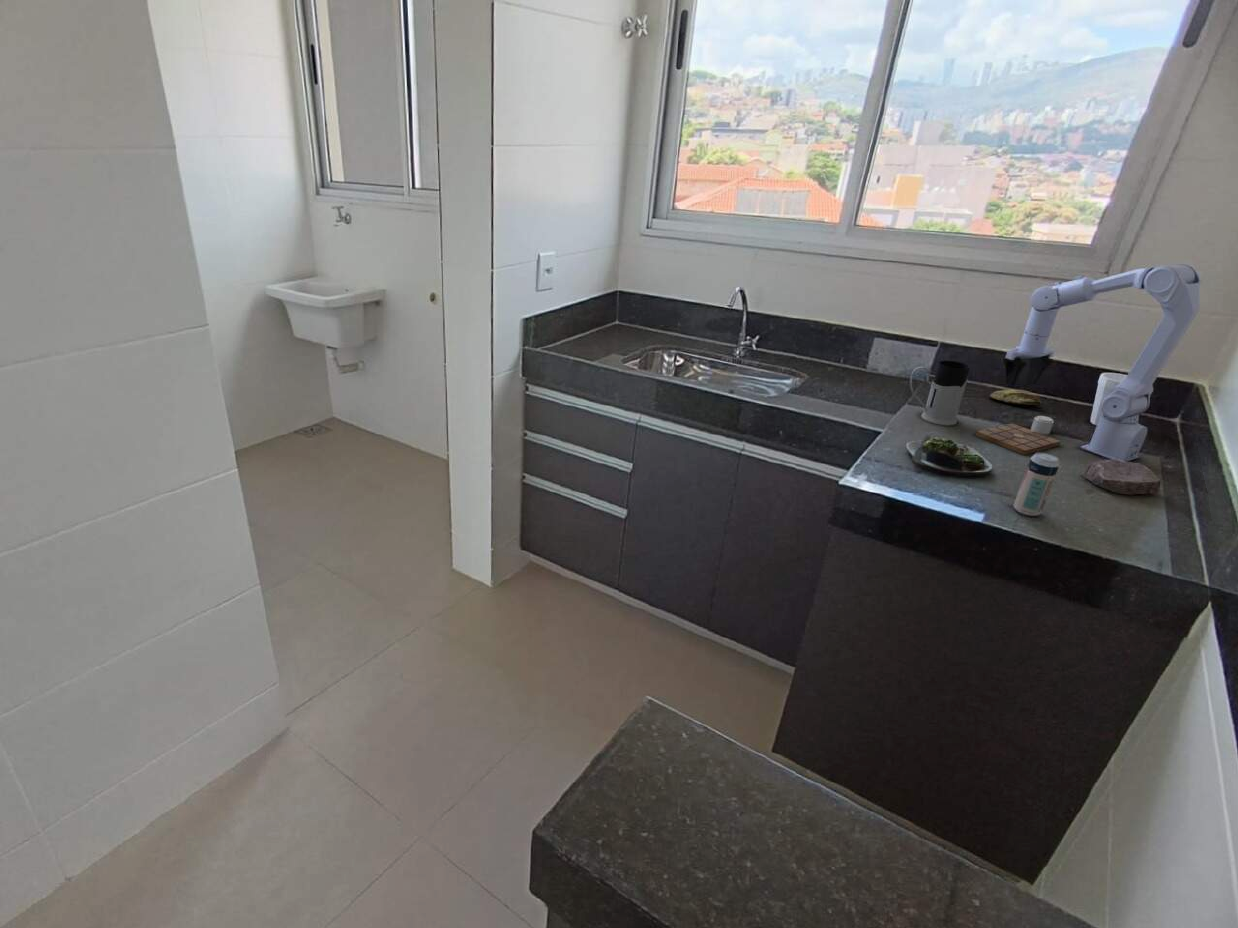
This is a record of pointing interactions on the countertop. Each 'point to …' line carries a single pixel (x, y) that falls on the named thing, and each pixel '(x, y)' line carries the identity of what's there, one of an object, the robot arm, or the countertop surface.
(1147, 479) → the stone
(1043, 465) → the supplement jar
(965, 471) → the salad plate
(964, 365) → the glass holder
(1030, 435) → the board
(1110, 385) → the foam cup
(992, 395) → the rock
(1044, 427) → the white cylinder
